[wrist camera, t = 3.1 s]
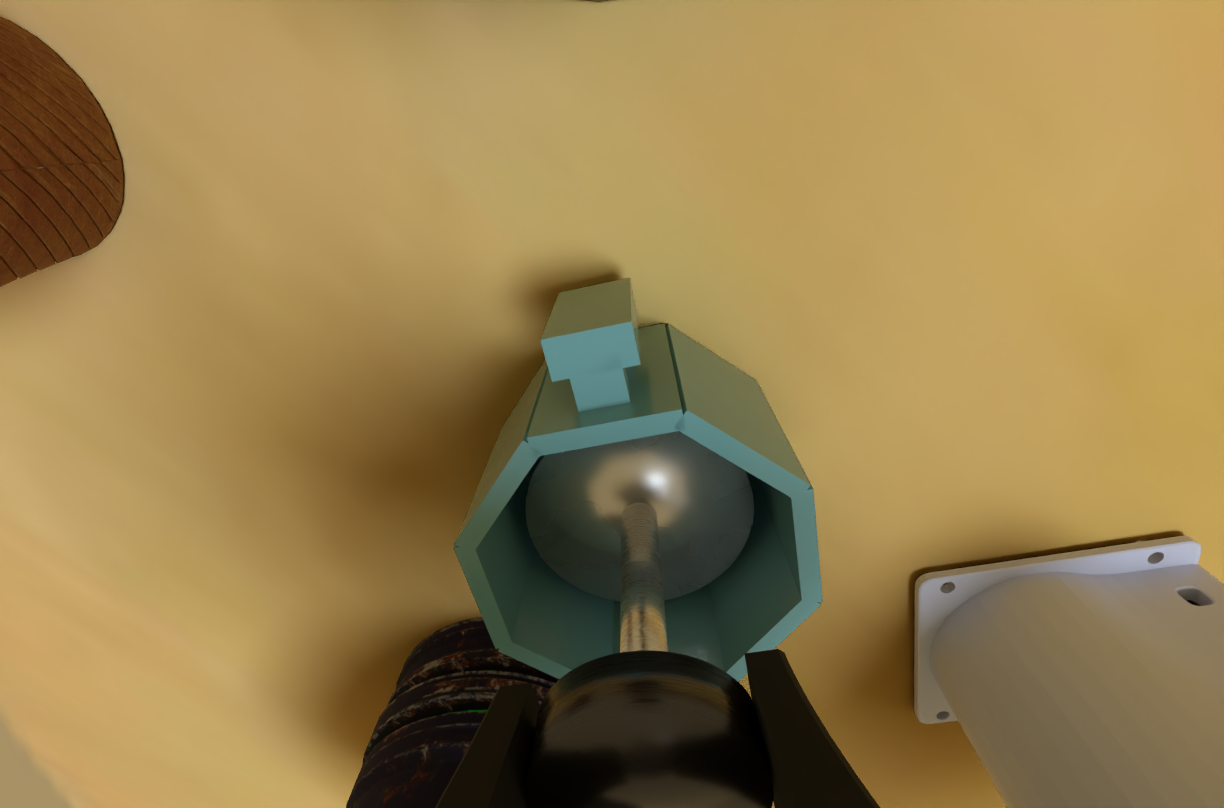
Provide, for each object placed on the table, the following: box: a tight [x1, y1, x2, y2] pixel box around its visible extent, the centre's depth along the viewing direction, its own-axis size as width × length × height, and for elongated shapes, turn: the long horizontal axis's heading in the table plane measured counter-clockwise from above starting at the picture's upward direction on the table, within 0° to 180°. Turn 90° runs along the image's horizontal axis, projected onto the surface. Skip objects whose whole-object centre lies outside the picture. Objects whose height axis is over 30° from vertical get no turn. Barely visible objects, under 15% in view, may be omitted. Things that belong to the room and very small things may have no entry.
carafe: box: [454, 278, 823, 682], centre depth 16 cm, size 8×10×6 cm
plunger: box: [525, 431, 774, 808], centre depth 13 cm, size 6×6×8 cm
